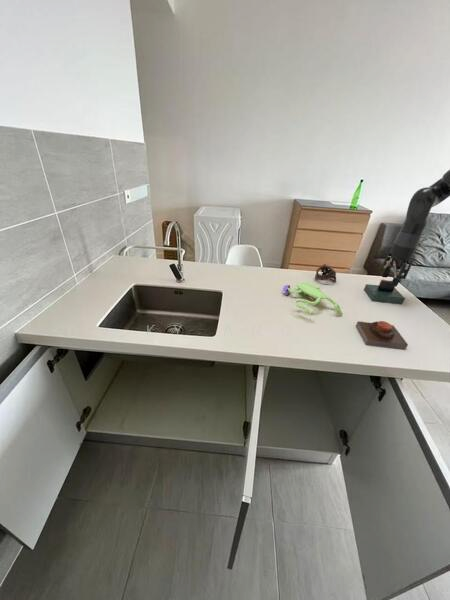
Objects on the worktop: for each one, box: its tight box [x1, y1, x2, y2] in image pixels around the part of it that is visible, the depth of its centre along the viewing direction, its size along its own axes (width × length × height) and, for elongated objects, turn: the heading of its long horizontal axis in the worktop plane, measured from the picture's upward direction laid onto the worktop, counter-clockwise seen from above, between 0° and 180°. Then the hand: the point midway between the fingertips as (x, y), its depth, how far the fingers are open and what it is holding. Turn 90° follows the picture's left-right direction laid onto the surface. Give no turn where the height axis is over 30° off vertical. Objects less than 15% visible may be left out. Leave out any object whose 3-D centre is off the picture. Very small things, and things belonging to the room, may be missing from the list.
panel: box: [363, 283, 406, 305], centre depth 105 cm, size 12×10×3 cm
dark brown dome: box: [314, 264, 337, 283], centre depth 117 cm, size 12×10×8 cm
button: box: [376, 320, 392, 332], centre depth 79 cm, size 4×4×2 cm
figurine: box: [282, 281, 343, 316], centre depth 97 cm, size 18×27×6 cm
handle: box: [378, 279, 396, 292], centre depth 103 cm, size 6×2×5 cm, turn 83°
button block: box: [355, 320, 408, 351], centre depth 80 cm, size 12×10×4 cm
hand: (388, 281), depth 102 cm, fingers open, 8 cm apart
